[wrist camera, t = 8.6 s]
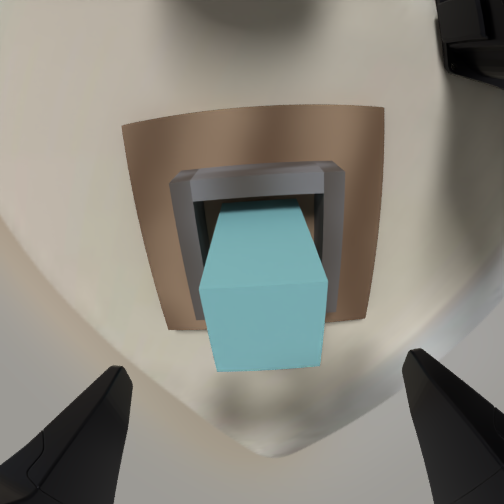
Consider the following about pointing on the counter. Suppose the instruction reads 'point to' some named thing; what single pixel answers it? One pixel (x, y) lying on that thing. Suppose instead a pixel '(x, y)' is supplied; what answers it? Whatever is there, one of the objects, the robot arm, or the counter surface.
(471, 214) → the counter surface
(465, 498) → the robot arm
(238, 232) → the teal post
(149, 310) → the counter surface
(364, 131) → the well block
